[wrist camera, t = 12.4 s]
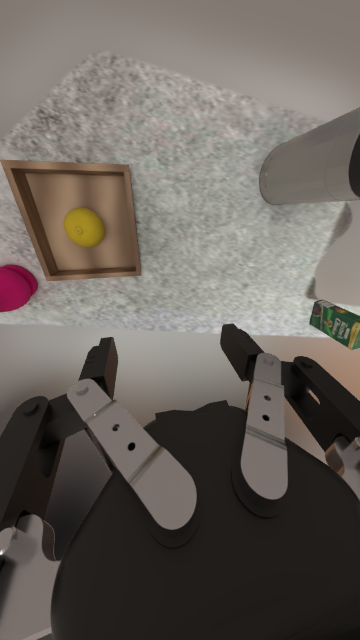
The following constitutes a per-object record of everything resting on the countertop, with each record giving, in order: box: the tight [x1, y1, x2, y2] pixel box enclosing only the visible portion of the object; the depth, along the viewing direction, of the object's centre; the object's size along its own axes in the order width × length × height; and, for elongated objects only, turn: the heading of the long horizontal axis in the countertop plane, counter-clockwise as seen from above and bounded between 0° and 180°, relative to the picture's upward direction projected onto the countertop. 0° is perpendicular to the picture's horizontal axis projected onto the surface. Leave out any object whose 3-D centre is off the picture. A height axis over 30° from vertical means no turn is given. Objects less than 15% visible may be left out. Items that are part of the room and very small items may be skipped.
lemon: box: [64, 207, 105, 247], centre depth 28 cm, size 6×6×8 cm
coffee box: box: [310, 300, 360, 350], centre depth 48 cm, size 8×3×13 cm, turn 11°
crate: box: [0, 160, 141, 281], centre depth 30 cm, size 16×16×4 cm
